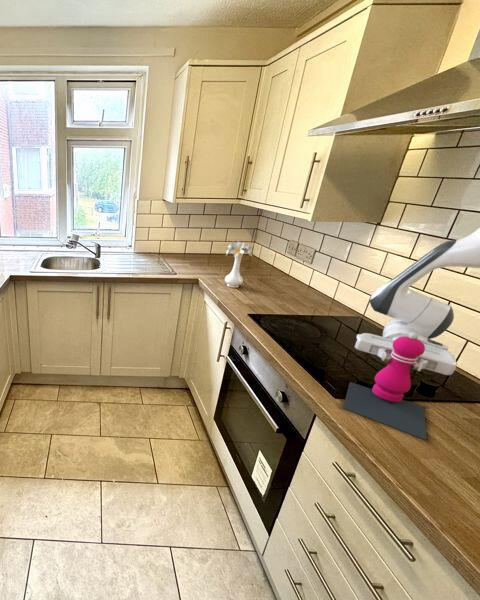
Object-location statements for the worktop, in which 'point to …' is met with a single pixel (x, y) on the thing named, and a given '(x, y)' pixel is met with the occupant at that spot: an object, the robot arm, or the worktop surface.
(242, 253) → the flower vase
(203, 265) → the worktop surface
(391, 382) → the pepper mill
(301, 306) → the worktop surface
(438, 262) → the robot arm
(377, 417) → the mat
